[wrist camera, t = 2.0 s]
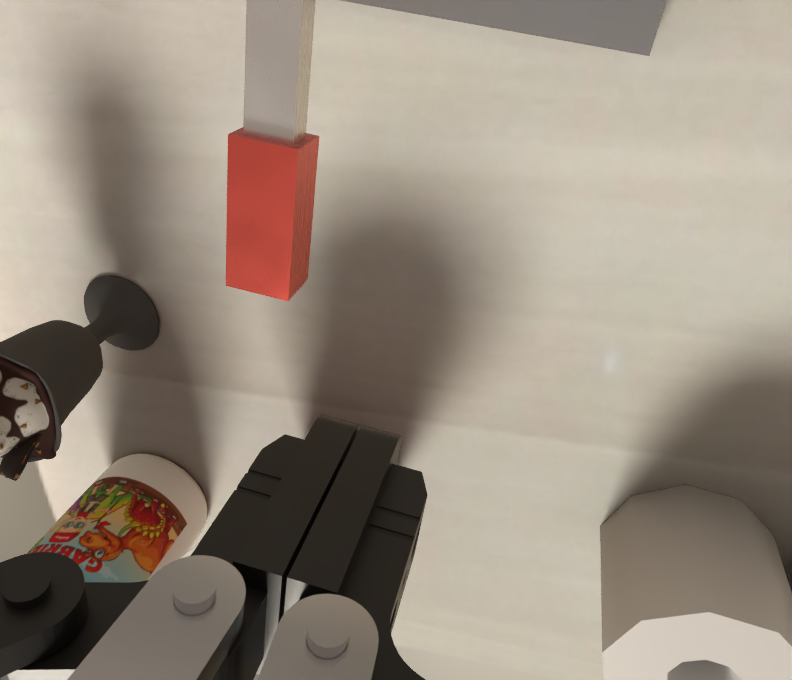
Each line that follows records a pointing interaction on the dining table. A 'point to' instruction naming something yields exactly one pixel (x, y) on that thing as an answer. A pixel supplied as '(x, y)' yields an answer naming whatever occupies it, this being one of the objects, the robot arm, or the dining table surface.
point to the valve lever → (273, 154)
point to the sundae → (64, 368)
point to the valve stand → (551, 18)
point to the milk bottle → (130, 521)
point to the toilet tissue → (692, 591)
